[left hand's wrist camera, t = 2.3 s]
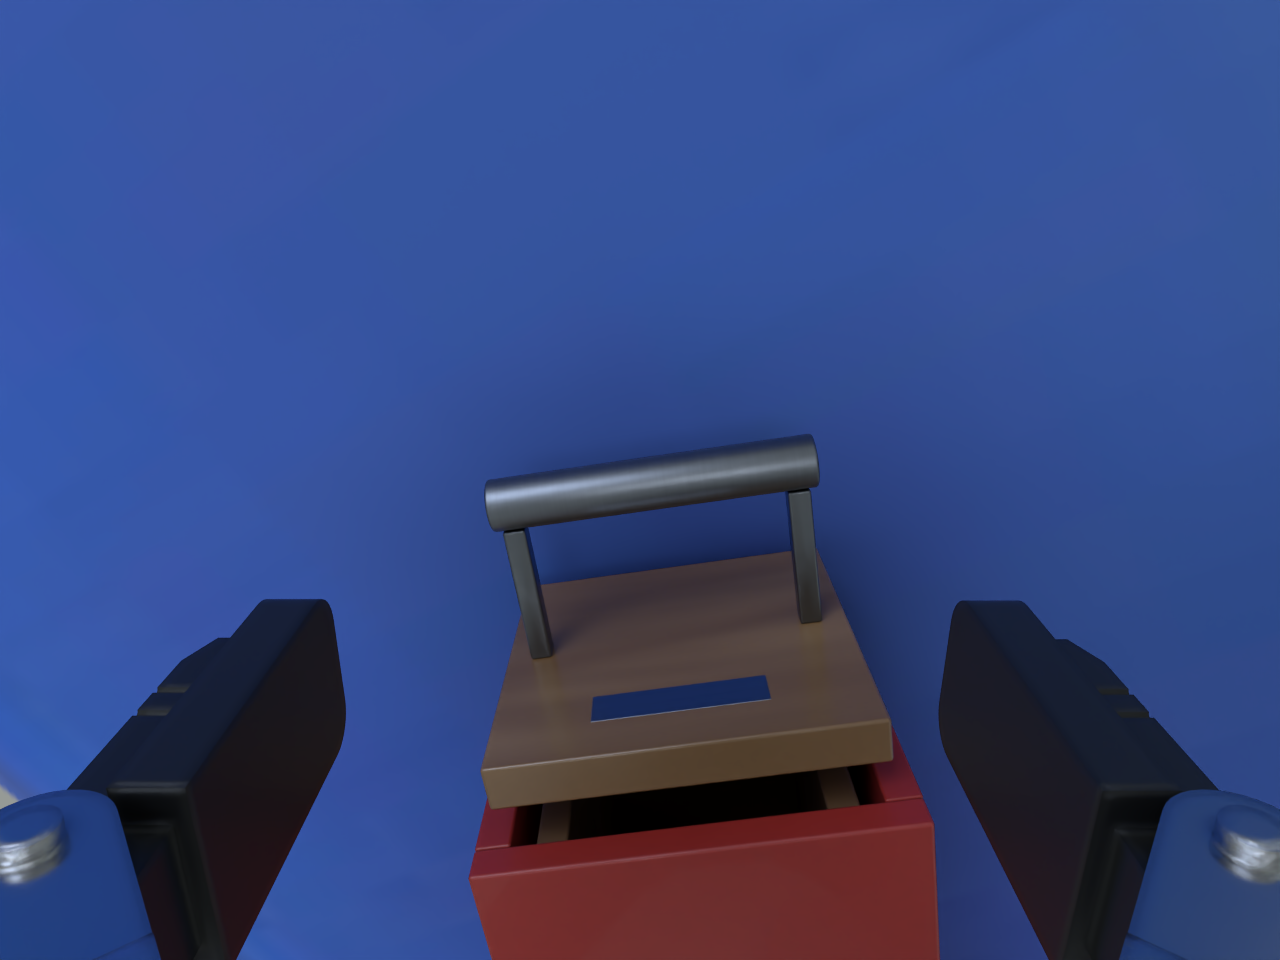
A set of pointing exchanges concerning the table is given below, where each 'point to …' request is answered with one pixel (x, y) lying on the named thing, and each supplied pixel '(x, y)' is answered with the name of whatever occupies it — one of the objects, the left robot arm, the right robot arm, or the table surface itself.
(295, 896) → the table surface
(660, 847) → the red rectangular box
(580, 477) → the drawer
